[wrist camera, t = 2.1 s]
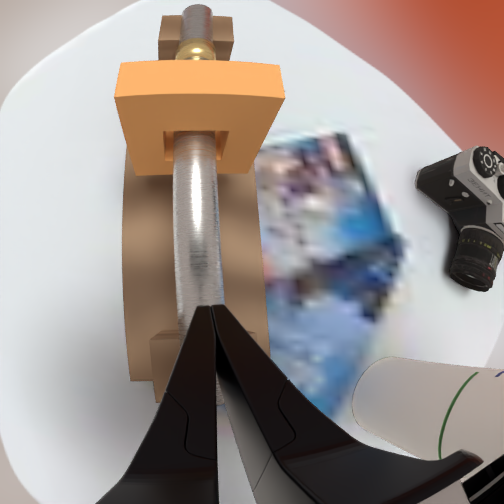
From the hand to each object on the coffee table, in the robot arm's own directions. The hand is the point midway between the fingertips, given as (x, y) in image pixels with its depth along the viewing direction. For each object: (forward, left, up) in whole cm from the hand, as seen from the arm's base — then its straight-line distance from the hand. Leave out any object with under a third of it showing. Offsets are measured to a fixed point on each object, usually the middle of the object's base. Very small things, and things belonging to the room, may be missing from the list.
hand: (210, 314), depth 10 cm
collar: (+7, -7, -8) cm, 13 cm away
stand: (+6, -6, -13) cm, 16 cm away
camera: (-16, -22, -14) cm, 31 cm away
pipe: (+6, -6, -6) cm, 10 cm away
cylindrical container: (-17, -5, -14) cm, 23 cm away
